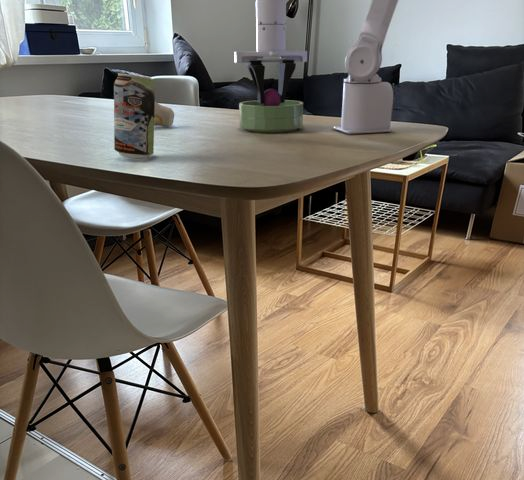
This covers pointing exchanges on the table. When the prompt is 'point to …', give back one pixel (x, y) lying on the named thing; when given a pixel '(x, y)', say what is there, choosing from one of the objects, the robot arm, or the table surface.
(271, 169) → the table surface
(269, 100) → the ball
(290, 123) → the bowl
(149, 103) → the tall printed two-tone box
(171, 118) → the mug
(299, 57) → the robot arm
